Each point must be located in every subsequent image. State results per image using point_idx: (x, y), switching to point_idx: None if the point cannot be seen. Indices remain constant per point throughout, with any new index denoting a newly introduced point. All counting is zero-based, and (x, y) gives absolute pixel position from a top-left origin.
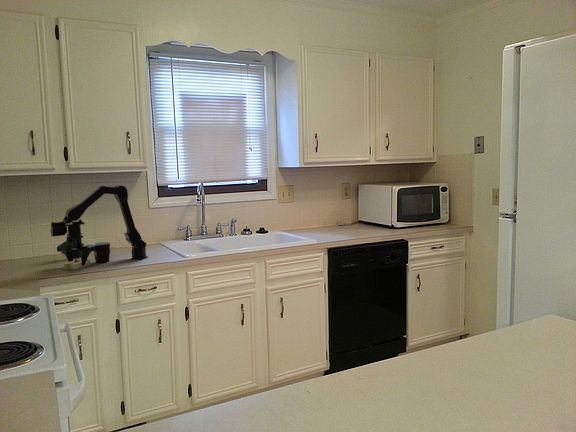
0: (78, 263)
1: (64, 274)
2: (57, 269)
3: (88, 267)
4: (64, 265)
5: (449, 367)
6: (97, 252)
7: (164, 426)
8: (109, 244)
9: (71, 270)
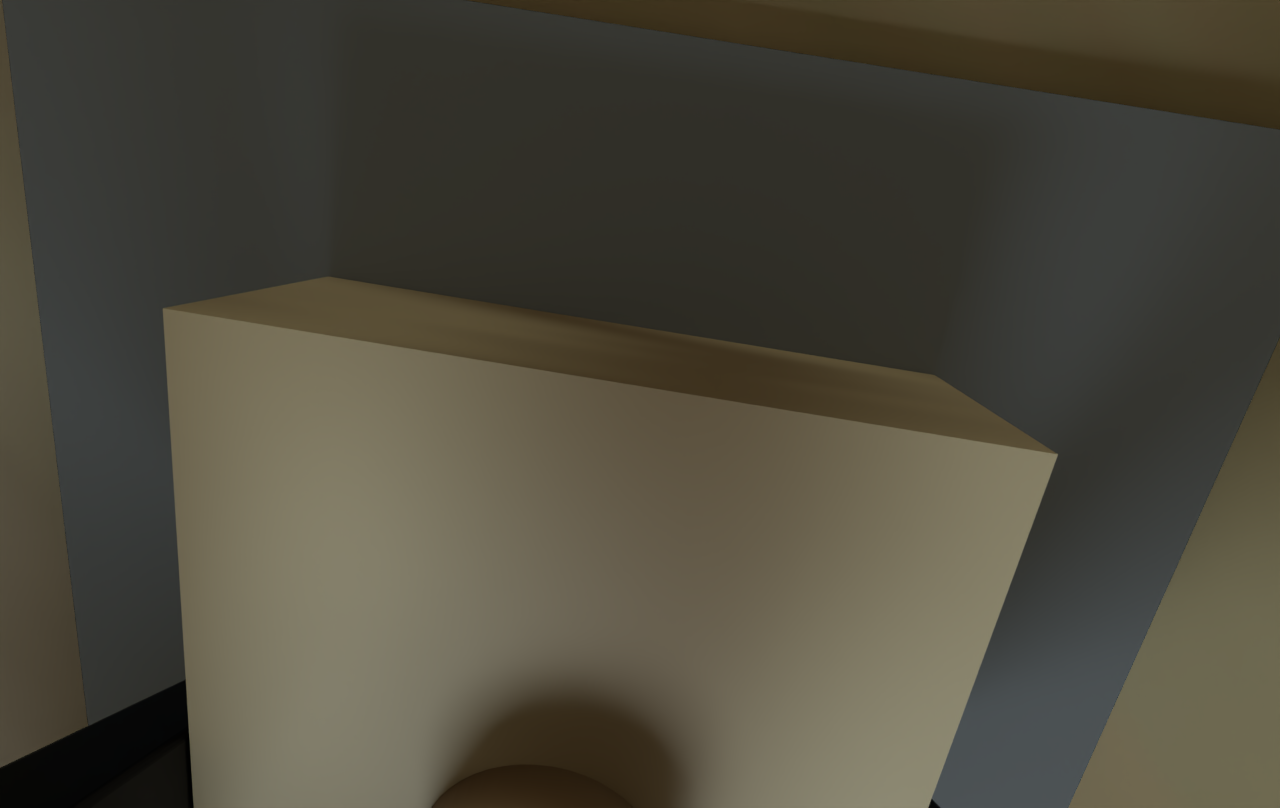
0: (181, 536)
1: None
2: (1196, 235)
3: (77, 581)
4: (963, 415)
5: None
6: None
7: None
8: None
9: (371, 57)
